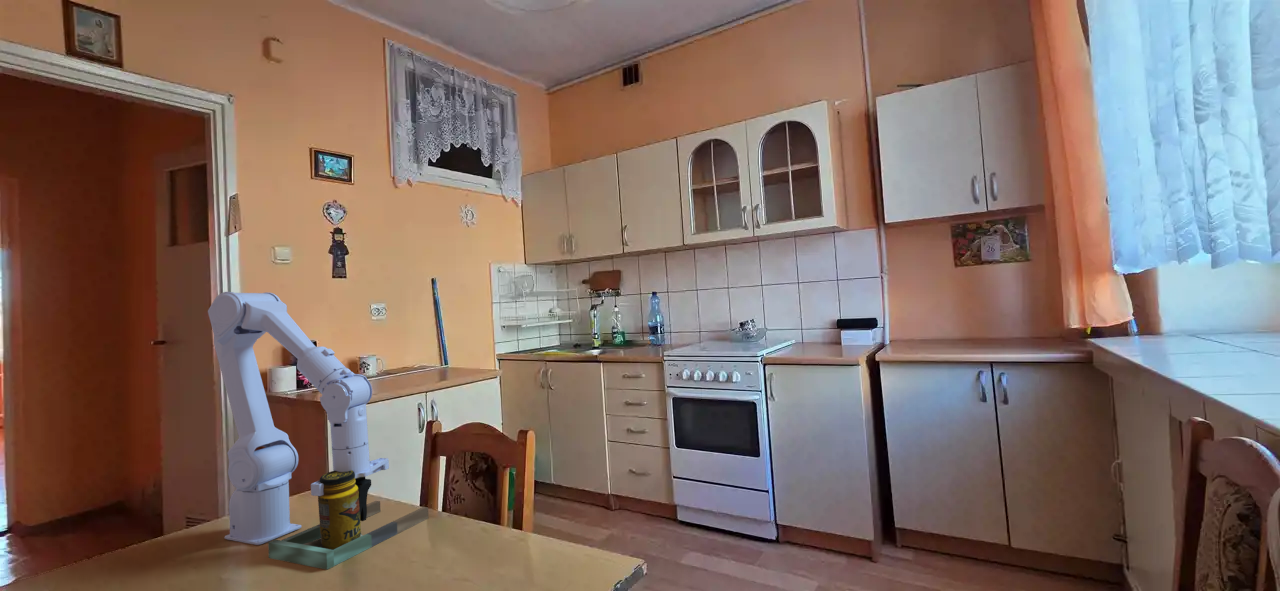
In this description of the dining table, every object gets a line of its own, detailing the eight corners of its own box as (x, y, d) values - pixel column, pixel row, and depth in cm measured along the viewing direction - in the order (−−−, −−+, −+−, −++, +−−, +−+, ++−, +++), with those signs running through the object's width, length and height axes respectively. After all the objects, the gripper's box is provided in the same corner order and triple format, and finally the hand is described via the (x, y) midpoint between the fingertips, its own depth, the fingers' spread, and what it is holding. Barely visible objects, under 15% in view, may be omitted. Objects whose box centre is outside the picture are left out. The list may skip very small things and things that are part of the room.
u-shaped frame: (268, 557, 90) (268, 542, 90) (376, 510, 110) (375, 498, 110) (327, 569, 85) (326, 553, 85) (428, 518, 105) (428, 504, 105)
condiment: (369, 543, 93) (364, 473, 93) (312, 562, 88) (307, 488, 87) (356, 529, 99) (352, 463, 98) (302, 546, 93) (297, 476, 93)
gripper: (330, 458, 89) (336, 542, 89) (399, 435, 103) (404, 508, 103) (299, 456, 92) (305, 538, 92) (370, 434, 105) (375, 505, 105)
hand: (355, 522), depth 97 cm, fingers closed, pressing on condiment
